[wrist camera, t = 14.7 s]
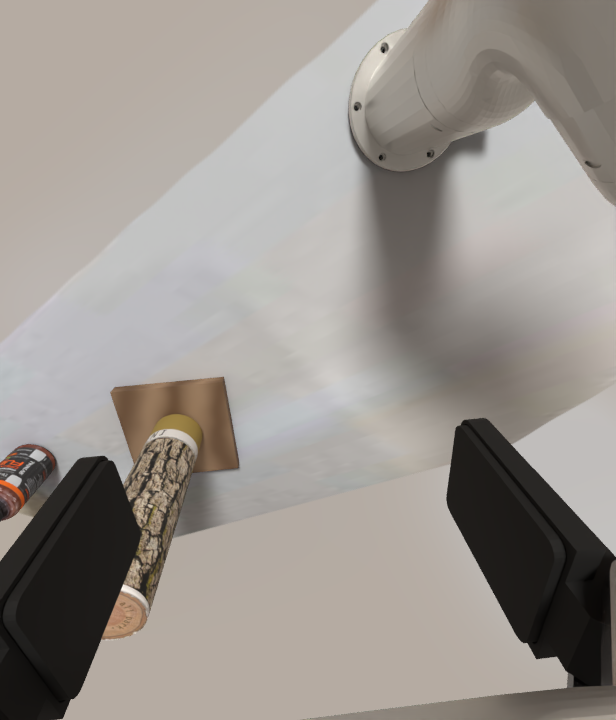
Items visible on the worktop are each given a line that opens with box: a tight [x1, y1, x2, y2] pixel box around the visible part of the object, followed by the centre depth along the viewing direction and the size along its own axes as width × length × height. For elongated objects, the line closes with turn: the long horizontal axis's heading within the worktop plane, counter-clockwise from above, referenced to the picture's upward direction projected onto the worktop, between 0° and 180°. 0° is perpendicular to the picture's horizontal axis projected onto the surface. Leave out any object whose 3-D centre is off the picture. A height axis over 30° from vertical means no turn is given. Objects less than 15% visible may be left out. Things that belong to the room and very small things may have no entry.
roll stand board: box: [110, 377, 239, 473], centre depth 52 cm, size 15×15×2 cm
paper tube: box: [101, 414, 202, 640], centre depth 40 cm, size 7×7×25 cm
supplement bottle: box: [0, 444, 55, 521], centre depth 48 cm, size 6×6×11 cm
